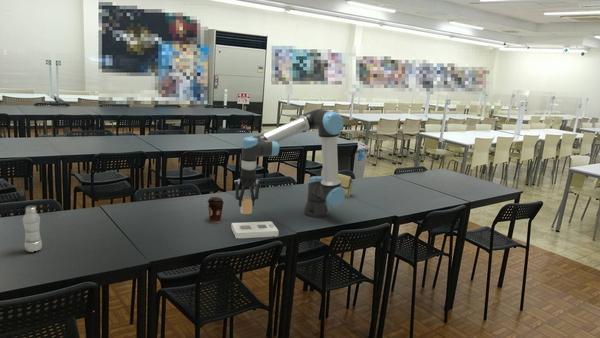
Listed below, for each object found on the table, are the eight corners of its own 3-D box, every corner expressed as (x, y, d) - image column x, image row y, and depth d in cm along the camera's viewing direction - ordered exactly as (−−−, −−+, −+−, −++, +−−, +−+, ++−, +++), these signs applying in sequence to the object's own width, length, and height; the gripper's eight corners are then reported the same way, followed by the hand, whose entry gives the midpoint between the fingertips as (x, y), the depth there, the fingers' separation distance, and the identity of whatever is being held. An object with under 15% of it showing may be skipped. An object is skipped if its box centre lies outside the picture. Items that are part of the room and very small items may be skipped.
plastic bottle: (45, 248, 194) (42, 205, 189) (36, 254, 187) (34, 210, 183) (30, 247, 194) (27, 204, 189) (21, 253, 187) (18, 209, 182)
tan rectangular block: (248, 211, 229) (249, 196, 227) (250, 213, 225) (251, 198, 224) (241, 211, 228) (242, 196, 226) (242, 214, 224) (243, 198, 222)
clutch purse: (313, 189, 320) (315, 169, 317) (319, 187, 326) (321, 168, 322) (347, 199, 302) (349, 178, 298) (352, 197, 307) (355, 177, 304)
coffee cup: (207, 223, 237) (208, 201, 234) (206, 218, 245) (207, 196, 242) (223, 223, 240) (224, 200, 237) (222, 218, 247) (222, 196, 244)
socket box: (271, 226, 241) (271, 220, 240) (278, 236, 228) (278, 229, 227) (231, 228, 234) (231, 222, 233) (236, 238, 221) (236, 231, 220)
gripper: (263, 166, 227) (260, 209, 233) (230, 166, 222) (228, 210, 227) (266, 170, 221) (263, 214, 226) (233, 170, 215) (230, 215, 220)
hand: (245, 212), depth 227 cm, fingers closed on tan rectangular block, 4 cm apart
